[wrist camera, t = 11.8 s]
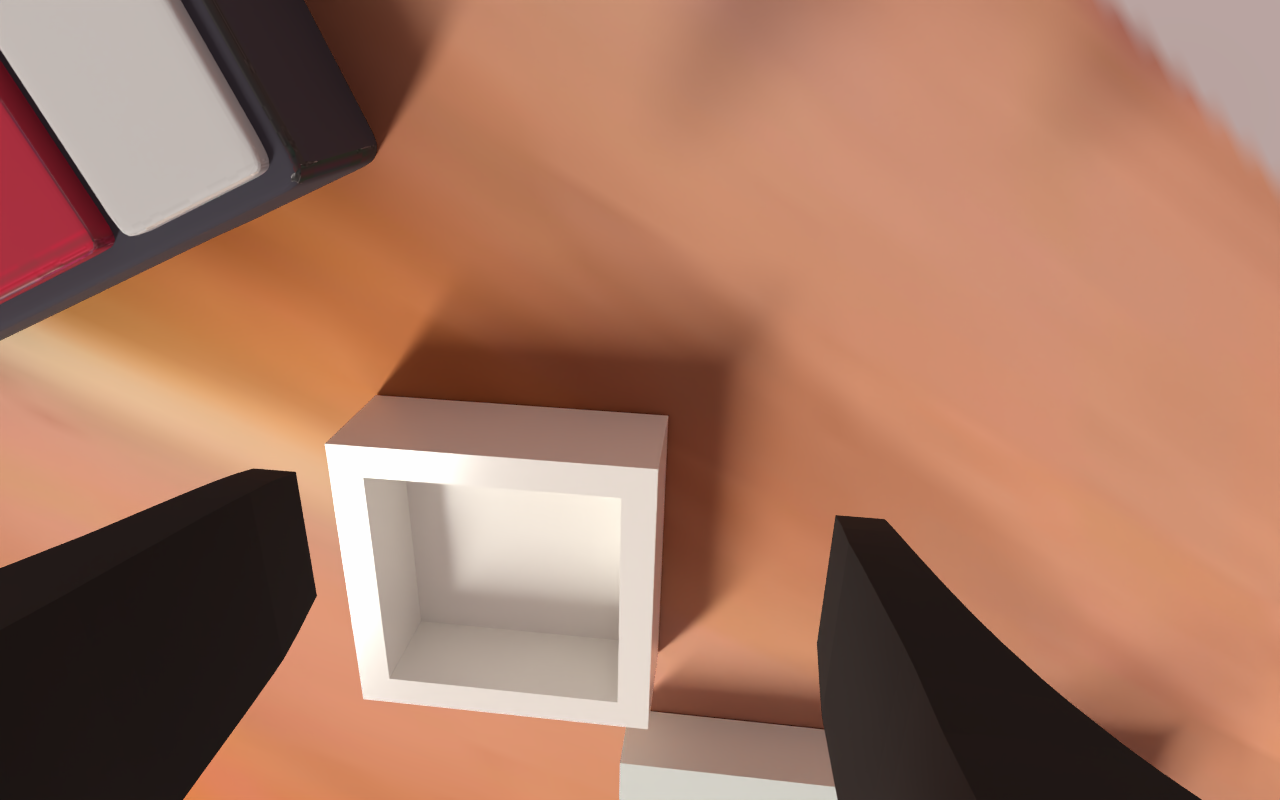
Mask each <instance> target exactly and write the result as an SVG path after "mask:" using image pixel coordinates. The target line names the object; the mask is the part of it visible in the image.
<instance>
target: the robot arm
mask: <svg viewBox="0 0 1280 800" xmlns="http://www.w3.org/2000/svg"><path fill="white" fill-rule="evenodd" d="M316 596H317V594H316V588H315V583H314V577H313V571H312V565H311V559H310V553H309V547H308V541H307V536H306V530H305V524H304V518H303V512H302V506H301V500H300V494H299V489H298V483H297V477H296V472H289V471H277V470H265V469H250V470H247V471H243V472H240V473H237V474H234V475H231V476H228V477H225V478H222V479H220V480H217V481H214V482H212V483H209V484H207V485H204V486H202V487H199V488H197V489H194V490H192V491H189V492H187V493H184V494H182V495H180V496H177V497H175V498H172V499H170V500H168V501H165V502H163V503H160V504H158V505H156V506H153V507H151V508H149V509H146V510H144V511H141V512H139V513H137V514H134V515H132V516H130V517H127V518H125V519H122V520H120V521H118V522H115V523H113V524H111V525H108V526H106V527H103V528H101V529H99V530H96V531H94V532H91V533H89V534H87V535H84V536H82V537H79V538H76V539H74V540H71V541H69V542H66V543H64V544H61V545H59V546H56V547H53V548H51V549H48V550H46V551H43V552H41V553H38V554H36V555H33V556H30V557H28V558H25V559H23V560H20V561H18V562H15V563H13V564H10V565H7V566H5V567H2V568H0V800H183V799H184V798H185V796H186V795H187V793H188V792H189V791H190V789H191V788H192V787H193V785H194V784H195V782H196V781H197V780H198V778H199V777H200V775H201V774H202V773H203V771H204V770H205V769H206V767H207V766H208V764H209V763H210V762H211V760H212V759H213V758H214V756H215V755H216V753H217V752H218V751H219V749H220V748H221V747H222V745H223V744H224V742H225V741H226V740H227V738H228V737H229V735H230V734H231V733H232V731H233V730H234V729H235V727H236V726H237V724H238V723H239V722H240V720H241V719H242V718H243V716H244V715H245V713H246V712H247V711H248V709H249V708H250V706H251V705H252V704H253V702H254V701H255V699H256V698H257V697H258V695H259V694H260V692H261V691H262V689H263V688H264V687H265V685H266V684H267V682H268V681H269V680H270V678H271V677H272V675H273V674H274V672H275V671H276V670H277V668H278V667H279V665H280V664H281V662H282V661H283V659H284V657H285V656H286V654H287V652H288V650H289V648H290V647H291V645H292V643H293V641H294V639H295V637H296V636H297V634H298V632H299V630H300V628H301V626H302V624H303V622H304V620H305V618H306V616H307V614H308V612H309V610H310V608H311V606H312V604H313V602H314V600H315V598H316ZM817 650H818V667H819V684H820V698H821V711H822V719H823V725H824V730H825V736H826V741H827V747H828V752H829V757H830V763H831V768H832V774H833V779H834V784H835V789H836V794H837V800H1201V799H1200V798H1198V797H1197V796H1195V795H1194V794H1193V793H1191V792H1190V791H1188V790H1187V789H1185V788H1184V787H1182V786H1181V785H1179V784H1178V783H1176V782H1175V781H1173V780H1172V779H1171V778H1169V777H1168V776H1166V775H1165V774H1163V773H1162V772H1160V771H1159V770H1158V769H1156V768H1155V767H1153V766H1152V765H1151V764H1149V763H1148V762H1147V761H1145V760H1144V759H1142V758H1141V757H1140V756H1138V755H1137V754H1135V753H1134V752H1133V751H1131V750H1130V749H1129V748H1127V747H1126V746H1125V745H1123V744H1122V743H1121V742H1119V741H1118V740H1117V739H1116V738H1114V737H1113V736H1112V735H1111V734H1109V733H1108V732H1107V731H1105V730H1104V729H1103V728H1102V727H1100V726H1099V725H1098V724H1097V723H1095V722H1094V721H1093V720H1091V719H1090V718H1089V717H1088V716H1086V715H1085V714H1084V713H1083V712H1081V711H1080V710H1079V709H1077V708H1076V707H1075V706H1074V705H1072V704H1071V703H1070V702H1069V701H1067V700H1066V699H1065V698H1064V697H1063V696H1061V695H1060V694H1059V693H1058V692H1057V691H1055V690H1054V689H1053V688H1052V687H1051V686H1050V685H1048V684H1047V683H1046V682H1045V681H1044V680H1043V679H1041V678H1040V677H1039V676H1038V675H1037V674H1036V673H1035V672H1034V671H1033V670H1032V669H1030V668H1029V667H1028V666H1027V665H1026V664H1025V663H1024V662H1023V661H1022V660H1021V659H1019V658H1018V657H1017V656H1016V655H1015V654H1014V653H1013V652H1012V651H1011V650H1010V649H1008V648H1007V647H1006V646H1005V645H1004V644H1003V643H1002V642H1001V641H1000V640H999V639H998V638H997V637H996V636H995V635H994V634H993V633H992V632H991V631H989V630H988V629H987V628H986V627H985V626H984V625H983V624H982V623H981V622H980V621H979V620H978V619H977V618H976V617H975V616H974V615H973V614H972V613H971V612H970V611H969V610H968V609H967V608H966V607H965V606H964V605H963V604H962V603H961V601H960V600H959V599H958V598H957V597H956V596H955V595H954V594H953V593H952V592H951V591H950V590H949V589H948V588H947V587H946V586H945V585H944V584H943V583H942V582H941V580H940V579H939V578H938V577H937V576H936V575H935V574H934V573H933V572H932V571H931V570H930V568H929V567H928V566H927V565H926V564H925V563H924V562H923V561H922V560H921V559H920V558H919V556H918V555H917V554H916V553H915V552H914V551H913V550H912V549H911V547H910V546H909V545H908V544H907V543H906V542H905V541H904V540H903V539H902V537H901V536H900V535H899V534H898V533H897V532H896V531H895V530H894V529H893V527H892V526H891V525H890V524H889V523H888V522H887V521H886V520H885V519H875V518H863V517H850V516H838V515H836V517H835V523H834V530H833V537H832V544H831V551H830V558H829V565H828V572H827V578H826V585H825V592H824V599H823V606H822V613H821V620H820V627H819V633H818V640H817Z"/></svg>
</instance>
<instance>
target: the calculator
mask: <svg viewBox="0 0 1280 800" xmlns="http://www.w3.org/2000/svg"><path fill="white" fill-rule="evenodd" d="M376 153H377V143H376V140H375V137H374V135H373V133H372V131H371V129H370V127H369V125H368V123H367V121H366V119H365V117H364V115H363V113H362V111H361V109H360V107H359V105H358V103H357V102H356V100H355V98H354V96H353V94H352V92H351V90H350V88H349V86H348V84H347V82H346V80H345V78H344V76H343V75H342V73H341V71H340V69H339V67H338V65H337V63H336V61H335V59H334V57H333V55H332V53H331V51H330V50H329V48H328V46H327V44H326V42H325V40H324V38H323V36H322V34H321V32H320V30H319V28H318V26H317V25H316V23H315V21H314V19H313V17H312V15H311V13H310V11H309V9H308V7H307V5H306V3H305V1H304V0H0V340H2V339H4V338H7V337H9V336H11V335H13V334H15V333H17V332H19V331H21V330H23V329H25V328H27V327H29V326H32V325H34V324H36V323H38V322H40V321H42V320H44V319H46V318H48V317H50V316H52V315H54V314H56V313H58V312H60V311H63V310H65V309H67V308H69V307H71V306H73V305H75V304H77V303H79V302H81V301H83V300H85V299H87V298H89V297H92V296H94V295H96V294H98V293H100V292H102V291H104V290H106V289H108V288H110V287H112V286H114V285H116V284H118V283H121V282H123V281H125V280H127V279H129V278H131V277H133V276H135V275H137V274H139V273H141V272H143V271H145V270H147V269H149V268H152V267H154V266H156V265H158V264H160V263H162V262H164V261H166V260H168V259H170V258H172V257H174V256H176V255H178V254H181V253H183V252H185V251H187V250H189V249H191V248H193V247H195V246H197V245H199V244H201V243H203V242H205V241H207V240H210V239H212V238H214V237H216V236H218V235H220V234H222V233H225V232H227V231H229V230H231V229H234V228H236V227H238V226H240V225H243V224H245V223H247V222H249V221H251V220H254V219H256V218H258V217H260V216H262V215H264V214H266V213H268V212H270V211H272V210H274V209H277V208H279V207H281V206H283V205H285V204H287V203H289V202H291V201H293V200H295V199H297V198H299V197H302V196H304V195H306V194H308V193H310V192H312V191H314V190H316V189H318V188H320V187H322V186H325V185H327V184H329V183H331V182H333V181H335V180H337V179H339V178H341V177H343V176H345V175H348V174H350V173H352V172H354V171H356V170H358V169H360V168H362V167H364V166H366V165H367V164H369V163H370V162H371V161H372V160H373V159H374V158H375V156H376Z"/></svg>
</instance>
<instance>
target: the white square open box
mask: <svg viewBox="0 0 1280 800" xmlns="http://www.w3.org/2000/svg"><path fill="white" fill-rule="evenodd" d="M667 436H668V416H666V415H651V414H637V413H623V412H609V411H595V410H580V409H566V408H552V407H538V406H523V405H509V404H495V403H481V402H467V401H452V400H438V399H424V398H410V397H395V396H381V395H375V396H374V397H373V398H372V399H371V400H370V401H369V402H368V403H367V404H366V405H365V406H364V407H363V408H362V409H361V410H360V411H359V412H358V413H357V414H356V415H354V416H353V417H352V418H351V419H350V420H349V421H348V422H347V423H346V424H345V425H344V426H343V427H342V428H341V429H340V430H339V431H338V432H337V433H336V434H335V435H334V436H333V437H332V438H330V439H329V440H328V441H327V442H326V443H325V448H326V454H327V461H328V468H329V474H330V481H331V488H332V494H333V501H334V507H335V514H336V521H337V527H338V534H339V541H340V547H341V554H342V560H343V567H344V574H345V580H346V587H347V594H348V600H349V607H350V613H351V620H352V627H353V633H354V640H355V647H356V653H357V660H358V666H359V673H360V680H361V686H362V693H363V699H368V700H378V701H387V702H396V703H406V704H415V705H424V706H434V707H443V708H453V709H462V710H471V711H481V712H490V713H499V714H509V715H518V716H527V717H537V718H546V719H556V720H565V721H574V722H584V723H593V724H602V725H612V726H621V727H630V728H640V729H648V726H649V718H650V710H651V703H652V695H653V688H654V680H655V673H656V665H657V658H658V642H659V619H660V596H661V573H662V550H663V527H664V504H665V482H666V459H667Z"/></svg>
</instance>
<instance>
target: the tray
mask: <svg viewBox="0 0 1280 800" xmlns="http://www.w3.org/2000/svg"><path fill="white" fill-rule="evenodd" d="M619 800H837V794H836V789H835V784H834V779H833V774H832V768H831V763H830V757H829V752H828V747H827V741H826V736H825V730H824V729H815V728H806V727H796V726H786V725H777V724H767V723H758V722H748V721H739V720H729V719H720V718H710V717H700V716H691V715H681V714H672V713H662V712H653V711H650V718H649V726H648V729H640V728H630V727H626V730H625V736H624V742H623V748H622V754H621V760H620V788H619Z"/></svg>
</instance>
